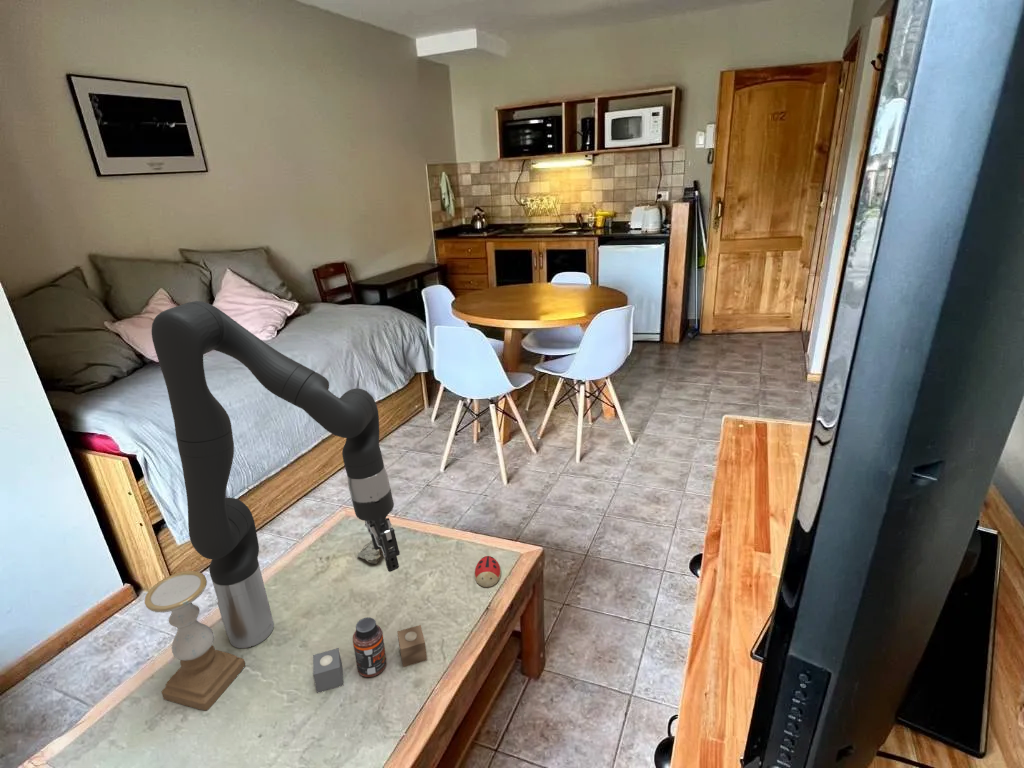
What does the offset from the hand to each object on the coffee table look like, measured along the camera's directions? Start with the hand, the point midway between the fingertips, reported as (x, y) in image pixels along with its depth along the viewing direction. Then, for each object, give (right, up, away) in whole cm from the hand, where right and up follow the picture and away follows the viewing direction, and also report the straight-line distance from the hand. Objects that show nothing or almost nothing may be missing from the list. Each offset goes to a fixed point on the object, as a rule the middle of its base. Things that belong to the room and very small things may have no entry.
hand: (386, 558), depth 111 cm
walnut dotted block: (+5, -22, +5) cm, 23 cm away
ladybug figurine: (+20, -13, +27) cm, 36 cm away
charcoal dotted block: (-11, -25, 0) cm, 27 cm away
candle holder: (-37, -25, 0) cm, 45 cm away
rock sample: (-11, -11, +35) cm, 38 cm away
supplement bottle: (-3, -23, +2) cm, 24 cm away
